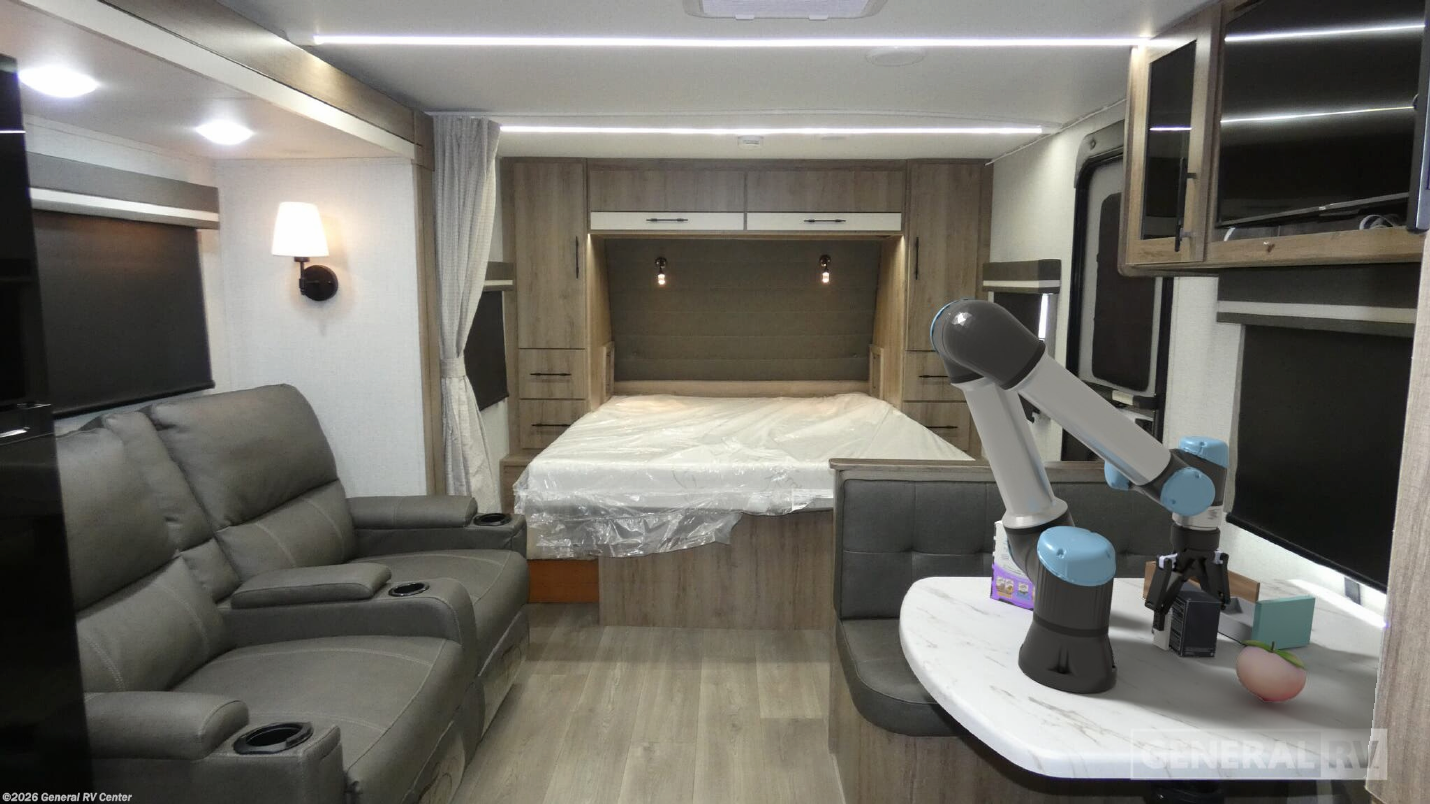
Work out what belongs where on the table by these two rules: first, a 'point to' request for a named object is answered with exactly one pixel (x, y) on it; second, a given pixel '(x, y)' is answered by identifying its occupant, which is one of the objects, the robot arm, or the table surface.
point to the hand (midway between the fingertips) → (1183, 643)
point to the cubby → (1237, 587)
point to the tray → (1269, 621)
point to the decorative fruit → (1270, 672)
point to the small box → (1194, 622)
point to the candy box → (1008, 575)
